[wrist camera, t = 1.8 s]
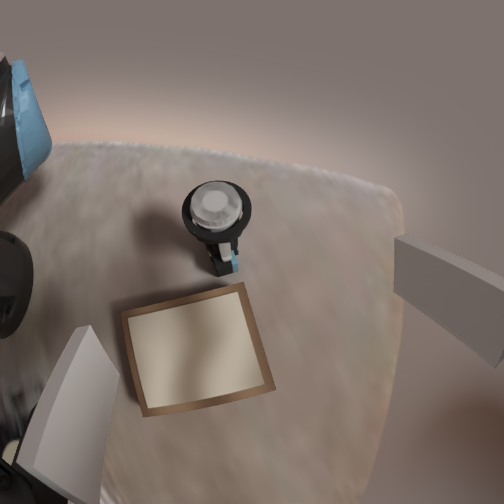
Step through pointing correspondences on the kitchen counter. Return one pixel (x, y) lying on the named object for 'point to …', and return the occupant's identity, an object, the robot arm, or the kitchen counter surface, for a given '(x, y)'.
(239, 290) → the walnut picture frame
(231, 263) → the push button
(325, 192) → the kitchen counter surface
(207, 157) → the kitchen counter surface
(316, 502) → the kitchen counter surface
